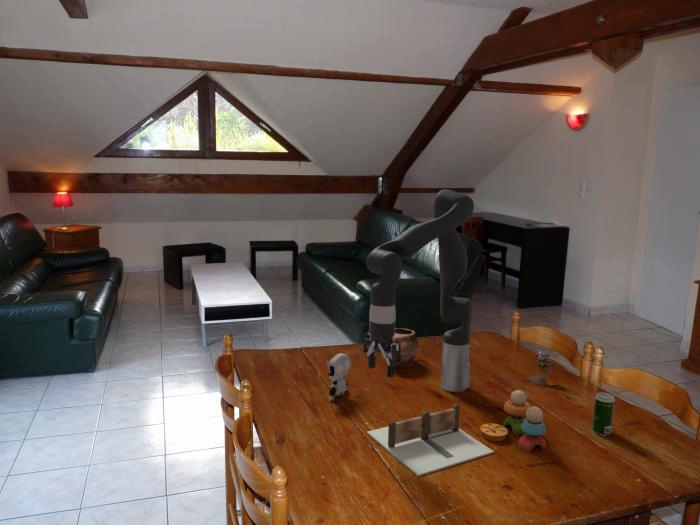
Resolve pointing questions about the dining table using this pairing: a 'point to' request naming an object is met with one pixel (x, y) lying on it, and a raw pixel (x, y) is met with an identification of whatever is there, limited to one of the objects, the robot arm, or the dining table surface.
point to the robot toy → (338, 374)
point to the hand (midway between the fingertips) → (380, 372)
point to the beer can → (603, 413)
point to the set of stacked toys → (519, 423)
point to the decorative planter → (406, 346)
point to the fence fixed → (440, 421)
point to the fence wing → (404, 430)
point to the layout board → (433, 450)
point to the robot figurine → (541, 369)
